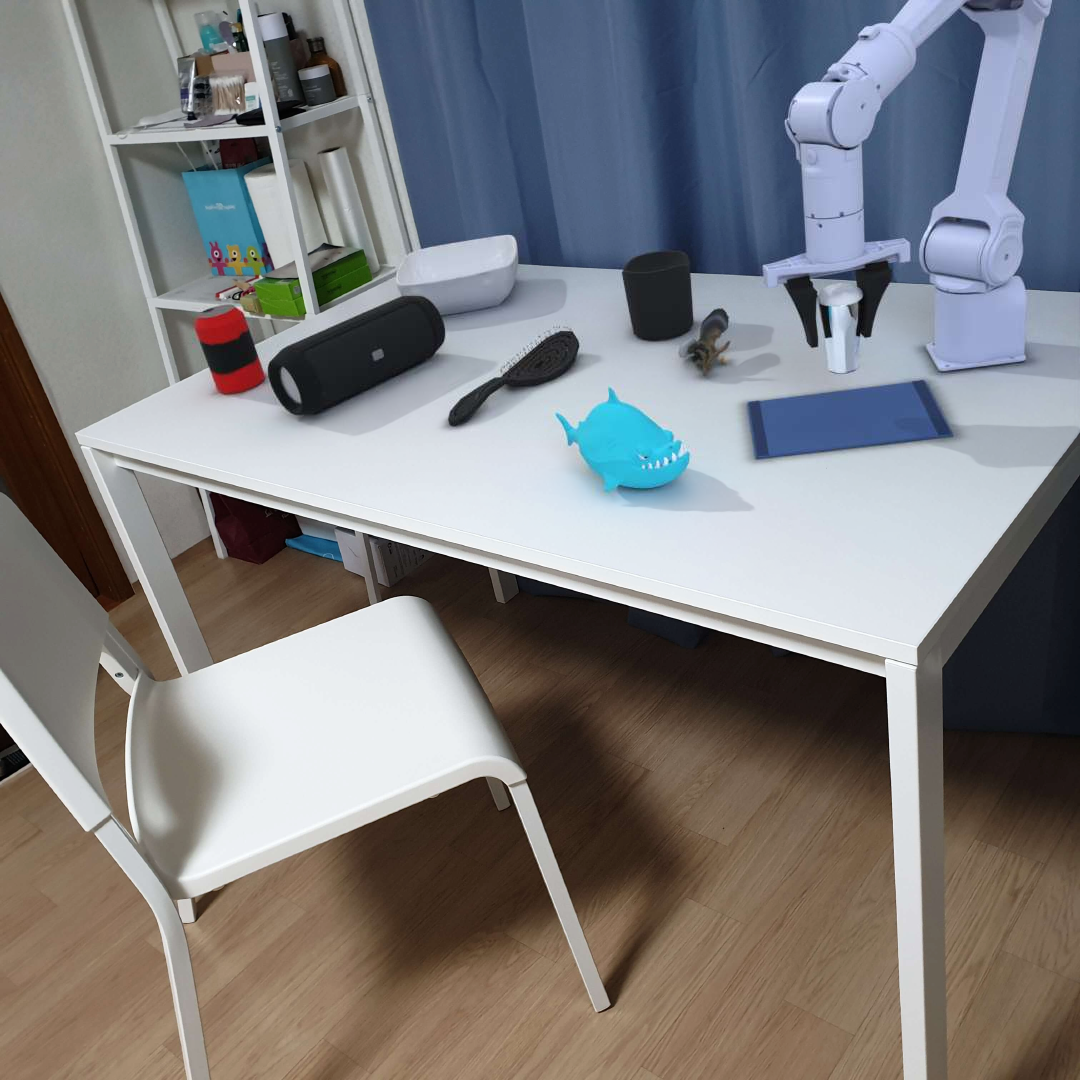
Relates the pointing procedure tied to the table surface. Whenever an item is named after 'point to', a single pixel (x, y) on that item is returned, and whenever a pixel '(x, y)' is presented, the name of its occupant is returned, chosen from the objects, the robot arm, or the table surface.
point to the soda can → (229, 349)
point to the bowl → (461, 274)
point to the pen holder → (659, 294)
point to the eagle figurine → (708, 340)
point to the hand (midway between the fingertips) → (839, 339)
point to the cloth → (846, 419)
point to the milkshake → (841, 326)
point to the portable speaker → (356, 355)
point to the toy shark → (627, 446)
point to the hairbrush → (523, 372)
